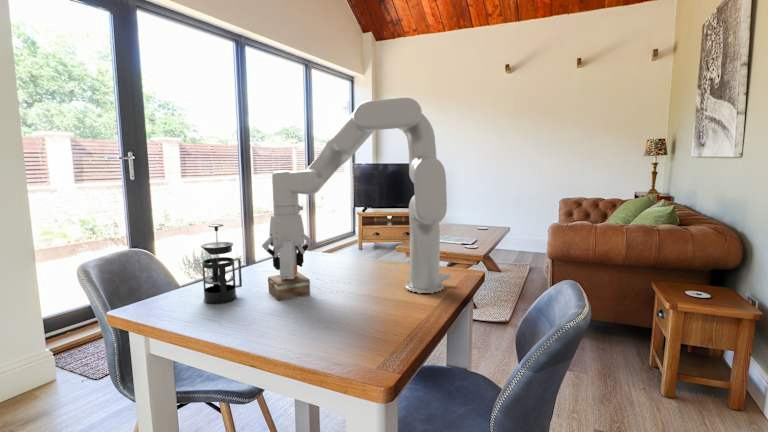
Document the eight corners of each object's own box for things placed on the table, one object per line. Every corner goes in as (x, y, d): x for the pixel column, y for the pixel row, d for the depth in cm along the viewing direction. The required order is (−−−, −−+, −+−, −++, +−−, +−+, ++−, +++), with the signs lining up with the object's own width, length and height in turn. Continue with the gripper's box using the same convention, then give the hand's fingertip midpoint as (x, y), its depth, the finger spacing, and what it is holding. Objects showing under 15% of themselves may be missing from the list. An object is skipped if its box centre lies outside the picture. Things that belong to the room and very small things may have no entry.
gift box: (298, 286, 141) (298, 272, 141) (310, 294, 133) (309, 279, 132) (266, 292, 136) (265, 276, 135) (276, 301, 127) (275, 284, 127)
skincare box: (293, 279, 131) (292, 241, 129) (280, 279, 131) (278, 241, 129) (298, 274, 137) (296, 237, 135) (284, 274, 137) (283, 237, 135)
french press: (205, 306, 123) (200, 228, 120) (198, 298, 130) (193, 224, 127) (246, 299, 129) (242, 224, 126) (237, 291, 137) (233, 220, 134)
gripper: (308, 207, 139) (310, 261, 141) (254, 211, 130) (257, 268, 132) (317, 209, 132) (319, 266, 135) (261, 214, 123) (264, 274, 126)
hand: (288, 267), depth 133 cm, fingers closed on skincare box, 6 cm apart
